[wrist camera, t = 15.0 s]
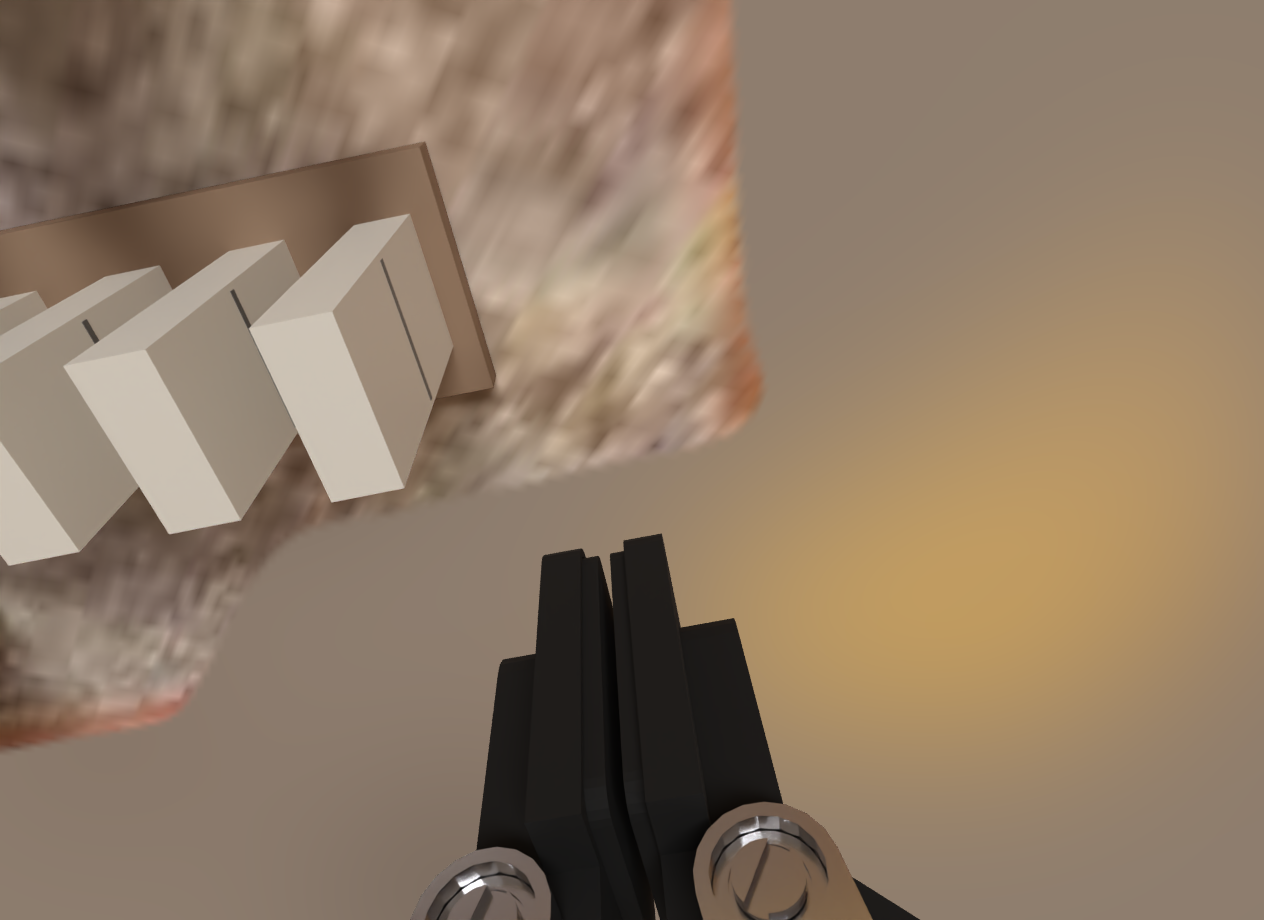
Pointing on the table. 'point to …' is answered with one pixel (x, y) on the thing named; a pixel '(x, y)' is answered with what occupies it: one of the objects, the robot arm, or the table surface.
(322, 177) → the domino board
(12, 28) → the table surface
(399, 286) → the domino
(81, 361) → the domino
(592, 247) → the table surface
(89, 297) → the domino
